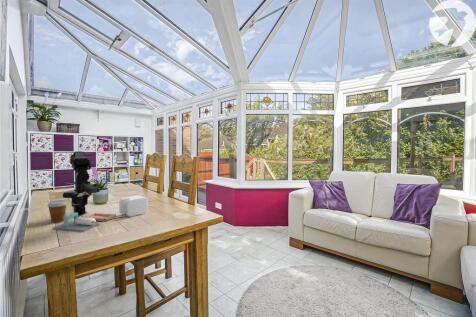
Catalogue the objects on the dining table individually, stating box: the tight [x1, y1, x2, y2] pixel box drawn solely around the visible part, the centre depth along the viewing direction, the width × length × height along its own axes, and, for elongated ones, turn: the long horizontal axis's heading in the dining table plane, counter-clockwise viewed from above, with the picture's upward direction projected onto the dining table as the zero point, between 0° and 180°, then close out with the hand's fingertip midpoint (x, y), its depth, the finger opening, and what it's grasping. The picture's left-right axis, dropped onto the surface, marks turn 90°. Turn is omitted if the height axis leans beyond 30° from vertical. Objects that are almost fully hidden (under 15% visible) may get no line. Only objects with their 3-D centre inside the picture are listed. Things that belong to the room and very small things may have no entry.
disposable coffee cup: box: [47, 200, 68, 224], centre depth 142 cm, size 10×10×12 cm
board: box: [52, 220, 100, 233], centre depth 132 cm, size 20×11×1 cm, turn 78°
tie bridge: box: [63, 212, 79, 227], centre depth 133 cm, size 2×7×6 cm, turn 168°
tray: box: [83, 212, 117, 223], centre depth 148 cm, size 16×9×2 cm, turn 78°
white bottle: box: [75, 216, 97, 225], centre depth 133 cm, size 11×4×4 cm
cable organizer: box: [118, 194, 149, 218], centre depth 157 cm, size 15×11×12 cm
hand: (82, 207), depth 131 cm, fingers closed
